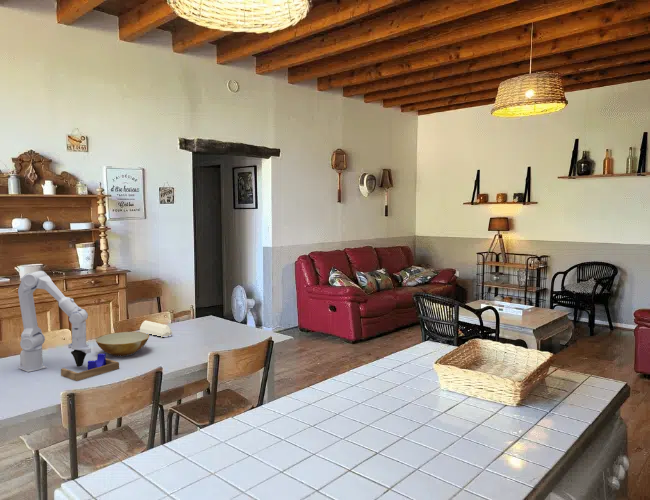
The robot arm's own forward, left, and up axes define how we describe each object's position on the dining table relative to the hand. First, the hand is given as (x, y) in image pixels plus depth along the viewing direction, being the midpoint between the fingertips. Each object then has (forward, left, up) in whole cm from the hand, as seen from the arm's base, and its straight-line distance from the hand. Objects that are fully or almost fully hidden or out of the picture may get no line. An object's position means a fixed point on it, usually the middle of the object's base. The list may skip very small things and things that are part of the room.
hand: (79, 366), depth 220 cm
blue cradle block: (+8, +3, -2) cm, 8 cm away
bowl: (-5, +26, -1) cm, 27 cm away
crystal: (-23, +60, -2) cm, 64 cm away
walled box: (+9, 0, -1) cm, 9 cm away
